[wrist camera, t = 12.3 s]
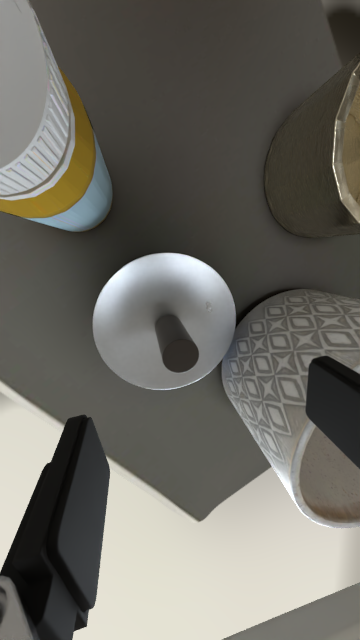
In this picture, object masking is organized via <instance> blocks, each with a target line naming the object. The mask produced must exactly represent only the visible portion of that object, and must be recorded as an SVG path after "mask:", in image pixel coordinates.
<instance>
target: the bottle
mask: <svg viewBox="0 0 360 640" xmlns="http://www.w3.org/2000/svg"><path fill="white" fill-rule="evenodd" d="M112 200H113V191H112V183H111V179H110V176H109V173H108V170H107V167H106V165H105V162H104V159H103V156H102V153H101V150H100V147H99V145H98V142H97V139H96V136H95V133H94V130H93V128H92V125H91V122H90V120H89V117H88V115H87V112H86V110H85V107H84V105H83V103H82V101H81V99H80V97H79V95H78V93H77V91H76V90H75V88H74V87H73V86H72V84H71V83H70V81H69V80H68V78H67V77H66V76H65V74H64V73H63V71H62V70H61V69H60V68H59V67H58V66H57V63H56V61H55V58H54V56H53V54H52V51H51V49H50V47H49V44H48V42H47V40H46V37H45V35H44V33H43V30H42V28H41V25H40V23H39V21H38V18H37V16H36V14H35V11H34V10H33V8H32V6H31V4H30V1H29V0H0V211H2V212H5V213H8V214H11V215H15V216H18V217H22V218H25V219H29V220H32V221H36V222H39V223H42V224H46V225H49V226H53V227H56V228H60V229H63V230H67V231H73V232H82V231H87V230H90V229H93V228H95V227H97V226H98V225H99V224H100V223H101V222H103V221H104V220H105V218H106V217H107V215H108V213H109V211H110V209H111V205H112Z"/></svg>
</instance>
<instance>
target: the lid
mask: <svg viewBox="0 0 360 640" xmlns="http://www.w3.org/2000/svg"><path fill="white" fill-rule="evenodd" d="M235 326H236V310H235V304H234V300H233V297H232V294H231V292H230V290H229V288H228V286H227V284H226V283H225V281H224V280H223V279H222V277H221V276H220V275H219V274H218V273H217V272H216V271H215V270H214V269H213V268H212V267H210V266H209V265H207V264H206V263H205V262H203V261H201V260H199V259H197V258H194V257H191V256H189V255H185V254H180V253H170V252H163V253H154V254H150V255H145V256H143V257H140V258H137V259H135V260H133V261H131V262H129V263H128V264H126V265H125V266H123V267H122V268H120V269H119V270H118V271H117V272H116V273H115V274H114V275H113V276H112V277H111V278H110V279H109V280H108V282H107V283H106V284H105V286H104V287H103V289H102V291H101V292H100V294H99V296H98V299H97V301H96V304H95V308H94V312H93V321H92V327H93V336H94V340H95V344H96V347H97V349H98V352H99V353H100V355H101V357H102V359H103V360H104V362H105V363H106V364H107V366H108V367H109V368H110V369H111V370H112V371H113V372H114V373H116V374H117V375H118V376H119V377H121V378H122V379H124V380H126V381H127V382H129V383H132V384H134V385H136V386H140V387H143V388H148V389H157V390H165V389H174V388H179V387H182V386H186V385H188V384H191V383H193V382H195V381H197V380H199V379H201V378H202V377H204V376H205V375H207V374H208V373H209V372H210V371H211V370H213V369H214V368H215V367H216V366H217V365H218V363H219V362H220V361H221V360H222V358H223V357H224V356H225V354H226V352H227V351H228V349H229V347H230V344H231V342H232V339H233V336H234V332H235Z"/></svg>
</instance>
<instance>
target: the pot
mask: <svg viewBox="0 0 360 640" xmlns="http://www.w3.org/2000/svg"><path fill="white" fill-rule="evenodd" d="M264 184H265V193H266V198H267V202H268V205H269V208H270V210H271V212H272V214H273V216H274V217H275V219H276V220H277V221H278V223H279V224H280V225H281V226H282V227H283V228H284V229H286V230H287V231H289V232H290V233H293V234H295V235H298V236H302V237H308V238H313V237H327V236H341V235H355V234H360V53H359V54H358V55H356V57H354V58H353V59H352V60H351V61H350V62H349V63H347V64H346V65H345V66H344V67H343V68H342V69H340V70H339V71H338V72H337V73H336V74H335V75H334V76H333V77H331V78H330V79H329V80H328V81H327V82H326V83H325V84H323V85H322V86H321V87H320V88H319V89H318V90H317V91H315V92H314V93H313V94H312V95H311V96H310V97H309V98H308V99H306V100H305V101H304V102H303V103H302V104H301V105H300V106H298V107H297V108H296V109H295V110H294V111H293V112H292V113H291V115H290V116H289V117H288V118H287V119H286V121H285V122H284V123H283V124H282V126H281V127H280V129H279V130H278V132H277V134H276V135H275V137H274V139H273V142H272V144H271V147H270V149H269V152H268V156H267V160H266V165H265V175H264Z"/></svg>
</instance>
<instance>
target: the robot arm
mask: <svg viewBox="0 0 360 640" xmlns="http://www.w3.org/2000/svg"><path fill="white" fill-rule="evenodd" d="M305 412H306V415H307V417H308V418H309V419H310V420H311V421H312V422H313V423H314V424H315V425H316V426H317V427H318V428H319V429H320V430H321V431H322V432H323V433H324V434H325V435H326V436H327V437H328V438H329V439H330V440H331V441H332V442H333V443H334V444H335V445H336V446H337V447H338V448H339V449H340V450H341V451H342V452H343V453H344V454H345V455H346V456H347V457H348V458H349V459H350V460H351V461H352V462H353V463H354V464H355V465H356V466H357V467H358V468H359V469H360V374H359V373H357V372H356V371H354V370H352V369H350V368H349V367H347V366H345V365H343V364H342V363H340V362H338V361H336V360H335V359H333V358H331V357H329V356H321V357H317V358H314V359H312V360H311V363H310V364H309V369H308V382H307V395H306V408H305ZM109 478H110V469H109V464H108V462H107V459H106V456H105V453H104V450H103V448H102V445H101V442H100V439H99V437H98V434H97V431H96V428H95V426H94V423H93V420H92V418H91V417H89V418H87V417H86V415H80V416H76V417H72V418H69V419H68V420H67V422H66V425H65V427H64V430H63V432H62V435H61V438H60V440H59V443H58V445H57V448H56V450H55V453H54V456H53V458H52V461H51V462H50V463H47V464H46V466H45V467H44V469H43V471H42V473H41V475H40V478H39V480H38V482H37V485H36V487H35V490H34V492H33V495H32V497H31V499H30V502H29V504H28V507H27V509H26V511H25V514H24V516H23V519H22V521H21V524H20V526H19V528H18V531H17V533H16V536H15V538H14V541H13V543H12V545H11V548H10V550H9V553H8V555H7V558H6V560H5V562H4V565H3V567H2V570H1V572H0V640H72V638H73V632H74V631H76V630H79V629H81V628H84V627H86V626H87V620H88V612H89V609H92V608H93V607H94V605H95V601H96V595H97V585H98V577H99V568H100V559H101V550H102V541H103V532H104V523H105V514H106V505H107V495H108V487H109ZM222 640H360V583H357V584H355V585H352V586H350V587H348V588H345V589H343V590H340V591H338V592H335V593H333V594H331V595H328V596H326V597H324V598H321V599H318V600H316V601H314V602H311V603H309V604H306V605H304V606H302V607H299V608H297V609H294V610H292V611H289V612H287V613H285V614H282V615H280V616H277V617H275V618H272V619H270V620H268V621H265V622H263V623H260V624H258V625H256V626H253V627H251V628H249V629H246V630H244V631H241V632H239V633H236V634H234V635H232V636H229V637H227V638H224V639H222Z"/></svg>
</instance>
